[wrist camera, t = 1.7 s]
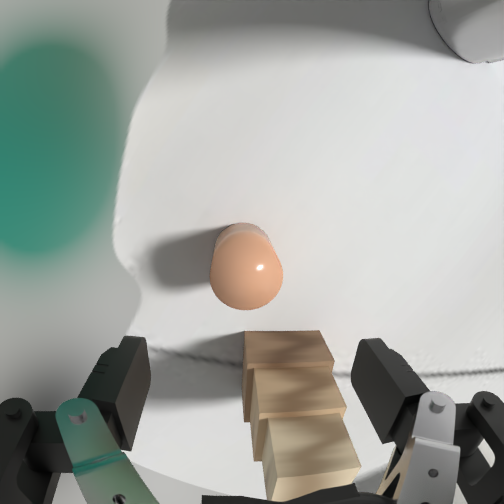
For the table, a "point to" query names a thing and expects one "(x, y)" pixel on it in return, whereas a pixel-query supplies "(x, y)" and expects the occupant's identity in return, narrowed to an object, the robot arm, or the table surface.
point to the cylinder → (245, 267)
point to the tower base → (280, 355)
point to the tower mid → (291, 397)
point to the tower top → (307, 456)
